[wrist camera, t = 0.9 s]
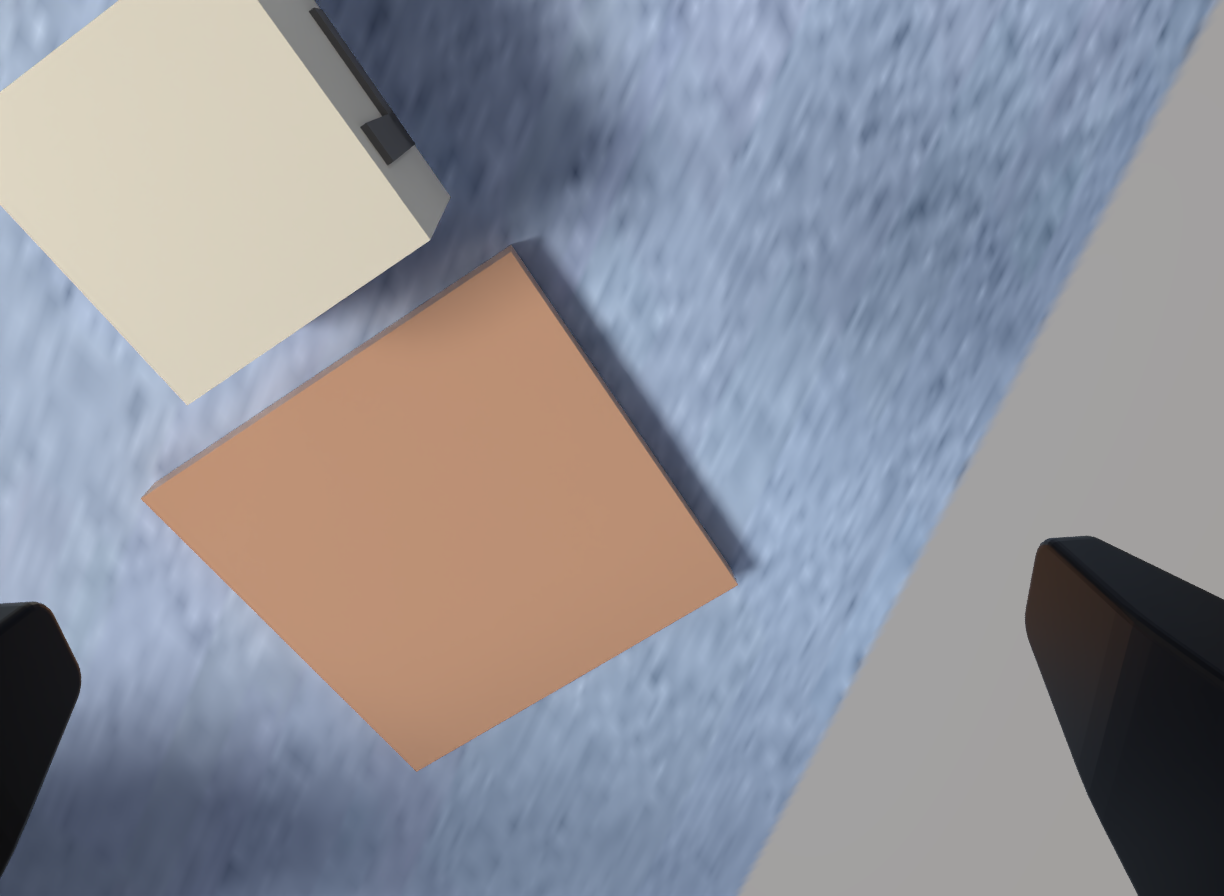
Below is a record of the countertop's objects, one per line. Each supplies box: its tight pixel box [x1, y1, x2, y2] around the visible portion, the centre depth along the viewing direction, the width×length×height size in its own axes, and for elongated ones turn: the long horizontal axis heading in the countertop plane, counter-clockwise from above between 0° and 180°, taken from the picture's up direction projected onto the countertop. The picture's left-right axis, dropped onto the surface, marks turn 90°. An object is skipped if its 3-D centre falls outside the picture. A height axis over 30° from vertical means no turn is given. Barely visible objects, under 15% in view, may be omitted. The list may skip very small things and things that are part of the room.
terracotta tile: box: [141, 245, 738, 772], centre depth 21 cm, size 10×10×1 cm
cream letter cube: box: [0, 0, 451, 405], centre depth 16 cm, size 5×5×5 cm
